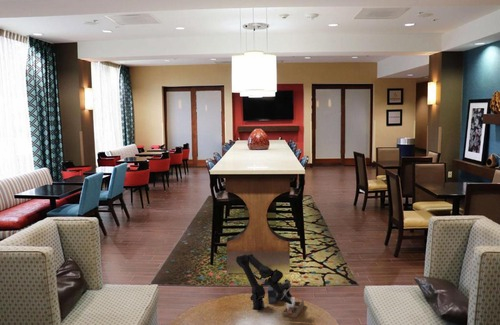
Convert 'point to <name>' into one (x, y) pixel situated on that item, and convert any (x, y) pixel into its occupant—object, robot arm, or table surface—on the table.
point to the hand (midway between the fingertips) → (292, 302)
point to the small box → (271, 295)
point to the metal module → (291, 306)
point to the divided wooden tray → (298, 308)
